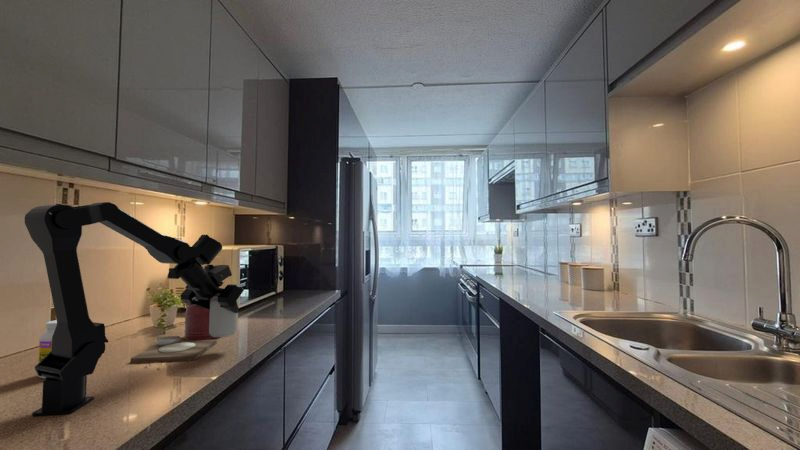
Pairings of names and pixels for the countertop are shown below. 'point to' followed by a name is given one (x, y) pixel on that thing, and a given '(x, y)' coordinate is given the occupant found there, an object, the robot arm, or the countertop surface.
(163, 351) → the board
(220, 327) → the can
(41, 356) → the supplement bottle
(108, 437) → the countertop surface
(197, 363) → the countertop surface
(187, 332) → the canister
